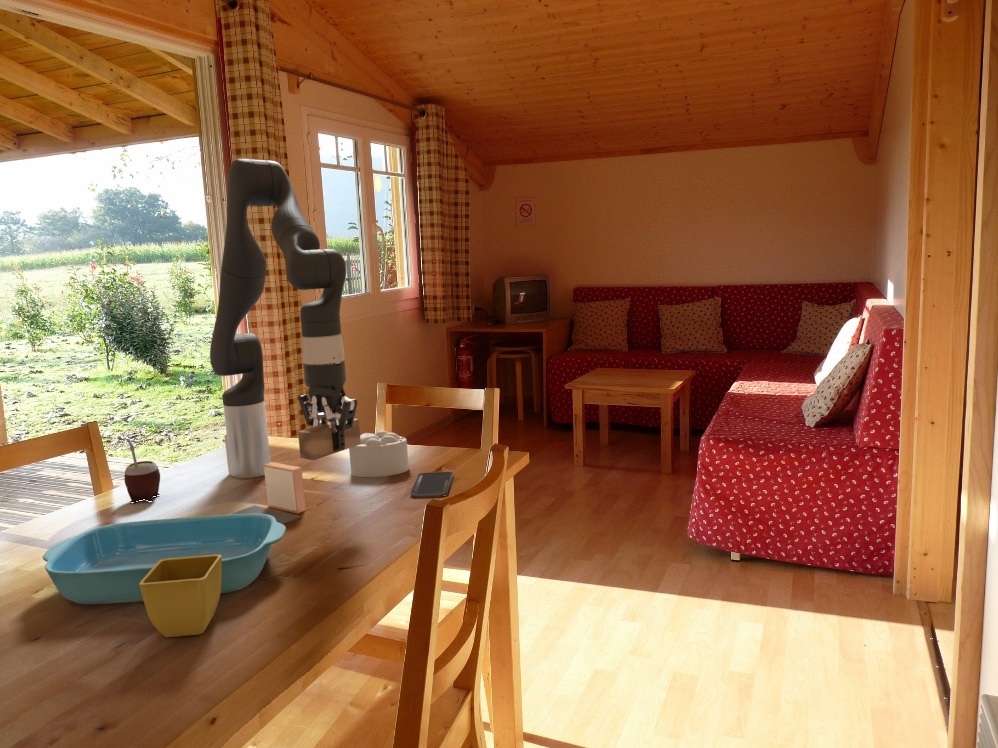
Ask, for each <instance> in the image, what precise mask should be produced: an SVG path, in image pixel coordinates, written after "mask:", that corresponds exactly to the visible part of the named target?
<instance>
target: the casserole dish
mask: <svg viewBox="0 0 998 748" xmlns="http://www.w3.org/2000/svg"><path fill="white" fill-rule="evenodd" d="M286 529H287V528H286V525H285V524H284V525H283V524H281V523H278V522H276V519H275V518H274V517H273V516H271V515H267V514H232V513H230V515H229V514H219V515H204V516H203V515H201V516H190V517H177V518H176V517H174V518H160V519H150V520H149V519H148V520H136V521H135V520H134V521H125V522H116V523H111V524H110V523H109V524H107V525H102V526H97V527H95V528H92V529H88V530H87V531H86V530H85V531H84V532H81V533H80V534H78V535H76V536H73V537H71V538H67V539H65V540H63V541H61V542H57V544H54V545H52V546H51V547H50V548H48V549H47V550H46V551H45V553H44V554H43V555H42V559H43V561H45V562H46V564H45V567H44V568H45V571H46V572H47V574H48V576H49V578H50V580H51V581H52V584H53V585H54V586H55V588H56V589H57V591H58V593H60V595H62V597H63V598H64V599H66V600H68V601H70V602H73V603H75V604H78V605H106V604H107V605H108V604H122V603H124V604H125V603H135V602H144V600H143V597H142V593H141V590H140V586H139V584H140V582H141V581H142V579H143V578H144V577H145V576H146V575H147V574H148V573H149V572H150V570H151V569H152V568H153V567H154V566H155V565H156V564H157V563H158V562H159V561H160V560H162V559H171V558H183V557H196V556H207V555H221V556H222V569H221V593H220V595H221V594H228V593H232V592H236V591H239V590H242V589H245V588H246V587H248V586H250V585H251V584H252V583H253V582H254V581H255V580H257V578H258V577H259V576H260V573H261V572H262V570H263V568H264V566H265V563H266V562H267V559H268V556H269V554H270V552H271V547H272V545H273V544H277V543H278V542H279V541H281V540H282V538H283V537H284V535H285V533H286V531H287V530H286Z"/></svg>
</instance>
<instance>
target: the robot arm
mask: <svg viewBox="0 0 998 748" xmlns="http://www.w3.org/2000/svg"><path fill="white" fill-rule="evenodd" d="M226 184H227V188H226V189H227V192H226V194H227V195H226V225H225V238H224V246H223V253H222V259H221V260H222V261H221V267H220V276H219V277H220V278H219V281H220V282H219V293H218V301H217V302H218V303H217V310H216V317H215V320H214V321H215V323H214V326H213V331H212V335H211V342H210V347H209V349H210V350H209V361H210V362H209V363H210V366H211V368H212V370H213V373H214V374H216V375H217V376H221V377H231V376H234V375H235V376H236V375H242V377H241V379H240V380H239V381H238V382H237V383H235V384H234V385H233V386H231V387H229V388H228V389H226V390H224V391H223V393H222V396H221V397H222V406H223V414H224V415H223V416H224V422H225V424H224V425H225V431H226V432H225V433H226V434H224V443H225V452H226V453H225V454H226V460H227V468H228V469H227V470H228V474H229V475H230V476H231V477H232V478H234V479H252V478H257V477H259V478H260V477H262V476H265V472H264V464H267V463H270V462H272V461H271V452H270V442H269V433H268V423H267V412H266V403H265V377H264V374H265V373H264V355H263V354H264V353H263V348H262V344H261V341H260V339H259V337H258V336H257V335H256V334H255V333H252V332H247V333H246V332H245V333H237V330H238V328H239V326H240V324H241V322H242V321H243V319H244V318H245V317H246V316H247V315H248V313H249V312H251V310H252V308H253V307H254V306H255V304H256V303H257V302H258V301H259V299H260V298H261V296H262V294H263V292H264V288H265V283H266V277H267V276H266V275H267V270H268V269H267V268H268V265H267V264H268V263H267V259H266V256H265V254H264V252H263V249H262V248H261V246H260V245H259V243H258V241H257V240H256V238H255V236H254V235H253V233H252V230H251V228H250V226H249V224H248V217H247V216H248V215H247V213H248V208H249V206H250V207H272V206H274V207H275V208H276V210H275V213H274V214H273V216H272V218H271V226H270V228H271V234H272V237H273V239H274V241H275V243H276V244H277V245H278V247H279V249H280V251H281V252H282V254H283V257H284V258H283V259H284V262H285V272H286V277H287V282H288V283H289V284H290V285H291V286H292V287H294V288H295V289H298V290H300V291H308V290H319V289H320V290H322V289H323V291H322V294H321V295H320V297H319V298H318V299H316V300H314V301H312V302H311V301H310V302H308V303H305V304H303V305H302V306H301V308H300V311H299V312H300V314H299V316H300V318H299V319H300V324H301V325H300V326H301V327H300V328H301V337H302V338H301V339H302V340H301V354H302V364H303V365H302V367H303V376H304V384H305V386H306V387H308V392H307V394H301V395H298V403H299V405H300V408H301V411H302V414H303V417H304V419H305V422H306V425H307V426H309V427H310V426H311V427H315V426H318V425H322V424H325V423H328V422H330V424H331V428H332V431H333V433H332V440H333V451H334V452H337V453H339V451H340V452H343V451H345V450H344V448H345V437H344V431H345V430H346V429H348V428H352V426H353V421H354V419H355V416H356V412H357V406H358V400H357V399H356V398H352V399H351V398H349V397H347V396H346V395H347V394H346V391H345V389H344V385H345V384H346V382H347V371H346V362H345V361H346V360H345V359H346V358H345V347H344V342H343V337H342V327H341V317H340V316H341V314H340V313H341V311H340V310H341V303H342V296H343V291H344V287H345V281H346V276H347V265H346V261H345V258H344V257H343V255H342V254H341V253H340V252H339V251H338V250H336V249H334V248H333V249H332V248H324V249H323V248H322V249H321V248H320V247H321V243H320V239H319V238H318V236H317V233H316V232H315V230H313V228H312V226H311V225H310V224H309V222H308V221H307V219H306V218H305V216H304V213H303V212H302V209H301V208H300V205H299V202H298V199H297V196H296V193H295V190H294V189H293V188H294V187H293V186H292V183H291V181H290V178H289V175H288V174H287V172H286V169H285V168H284V167H283V165H282V164H280V163H279V162H278V161H274V160H269V159H268V160H266V159H253V158H236V159H233V160H232V162H231V163H230V166H229V169H228V175H227V183H226ZM236 333H237V334H236ZM310 413H311V414H310ZM334 414H335V415H334ZM336 420H338V423H339V425H337V422H336ZM346 420H347V422H346ZM342 450H343V451H342Z"/></svg>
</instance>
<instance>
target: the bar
mask: <svg viewBox="0 0 998 748" xmlns="http://www.w3.org/2000/svg"><path fill="white" fill-rule="evenodd" d="M336 422H337V425H339V423H338V419H337V420H336ZM346 422H347V420H346ZM332 433H333V431H332V428H331V424H330V421H327V423H325V424H322V425H318V426H315V427H313V426H311V427H308V428H305V429H301V430H298V431H297V435H298V444H299V456H300V459H304V460H311V461H316V460H319V459H321V458H324V457H327V456H330V455H333V454H337V453H339V452H343V451H345V450H349V448H351V447H354V446H357V445H360V444H361V440H360V435H361V429H360V419H359V418H354V421H353V426H352V428H348V429H346V430H345V431H344V437H345V448H344V450H342V451H339V452H334V451H333V440H332Z"/></svg>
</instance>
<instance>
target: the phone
mask: <svg viewBox="0 0 998 748" xmlns="http://www.w3.org/2000/svg"><path fill="white" fill-rule="evenodd" d="M453 479H454V472H452V471H439V472H422V473H419V474H418V476H417V478H416V480H415V482H414V484H413V486H412V489H411V490H410V497H411V498H414V499H417V498H419V499H422V498H437V497H436V496H442V497H441V498H443V497H447V496H448V495H449V493H448V492H450V490H451V486H450V485H452V483H451V482H453ZM447 494H448V495H447ZM443 495H446V496H443Z"/></svg>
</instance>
